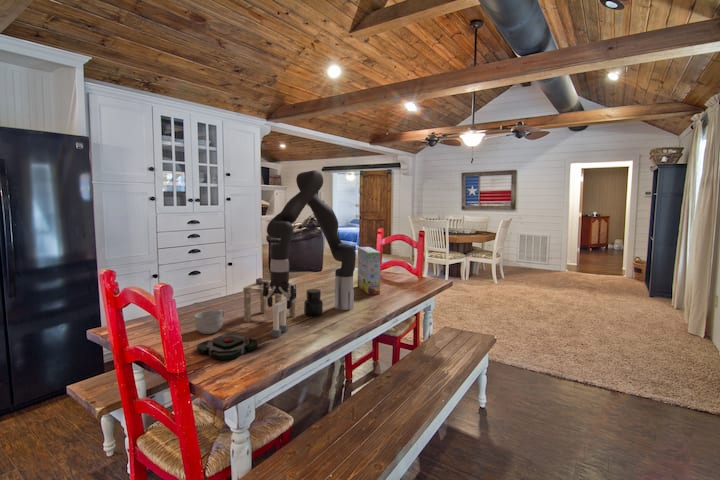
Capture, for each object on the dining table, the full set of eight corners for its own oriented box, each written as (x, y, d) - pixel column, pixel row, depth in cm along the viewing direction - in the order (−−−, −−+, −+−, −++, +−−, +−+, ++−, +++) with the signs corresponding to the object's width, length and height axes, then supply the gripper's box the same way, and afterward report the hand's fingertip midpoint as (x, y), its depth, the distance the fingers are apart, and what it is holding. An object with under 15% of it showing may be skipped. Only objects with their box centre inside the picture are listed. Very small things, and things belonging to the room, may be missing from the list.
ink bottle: (315, 310, 193) (315, 287, 192) (326, 314, 187) (327, 291, 185) (299, 314, 186) (299, 290, 185) (310, 319, 180) (311, 294, 179)
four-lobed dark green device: (192, 352, 141) (191, 340, 140) (231, 337, 156) (231, 326, 155) (224, 365, 131) (224, 352, 131) (263, 347, 147) (263, 336, 146)
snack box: (356, 286, 245) (357, 246, 242) (368, 285, 248) (370, 246, 245) (366, 295, 225) (368, 252, 222) (380, 294, 227) (382, 251, 224)
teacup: (206, 338, 153) (205, 319, 152) (189, 332, 159) (189, 314, 158) (234, 328, 165) (234, 310, 164) (217, 323, 171) (217, 306, 170)
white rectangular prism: (280, 329, 165) (280, 300, 163) (288, 330, 164) (288, 300, 162) (271, 336, 157) (271, 305, 156) (278, 337, 156) (278, 306, 155)
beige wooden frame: (295, 316, 184) (295, 278, 181) (279, 326, 168) (279, 285, 166) (262, 311, 189) (262, 274, 187) (243, 321, 174) (243, 281, 171)
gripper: (299, 269, 159) (299, 307, 161) (269, 266, 163) (268, 303, 165) (291, 272, 152) (290, 312, 154) (259, 269, 156) (259, 308, 158)
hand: (279, 307), depth 159 cm, fingers open, 8 cm apart
